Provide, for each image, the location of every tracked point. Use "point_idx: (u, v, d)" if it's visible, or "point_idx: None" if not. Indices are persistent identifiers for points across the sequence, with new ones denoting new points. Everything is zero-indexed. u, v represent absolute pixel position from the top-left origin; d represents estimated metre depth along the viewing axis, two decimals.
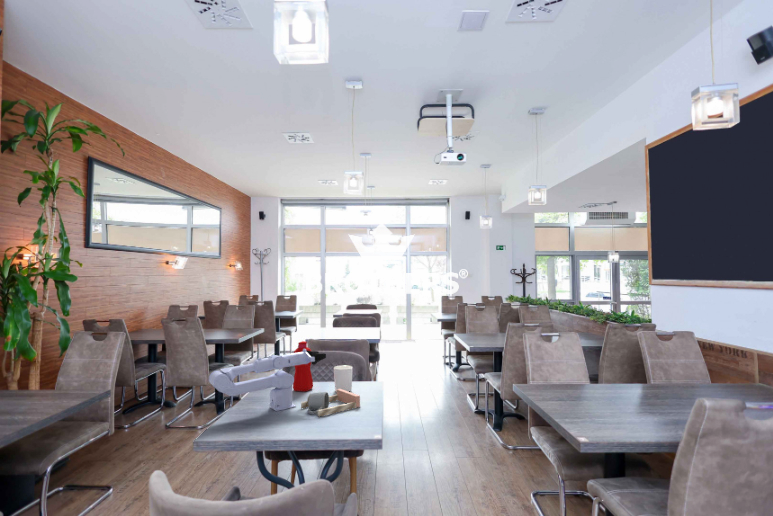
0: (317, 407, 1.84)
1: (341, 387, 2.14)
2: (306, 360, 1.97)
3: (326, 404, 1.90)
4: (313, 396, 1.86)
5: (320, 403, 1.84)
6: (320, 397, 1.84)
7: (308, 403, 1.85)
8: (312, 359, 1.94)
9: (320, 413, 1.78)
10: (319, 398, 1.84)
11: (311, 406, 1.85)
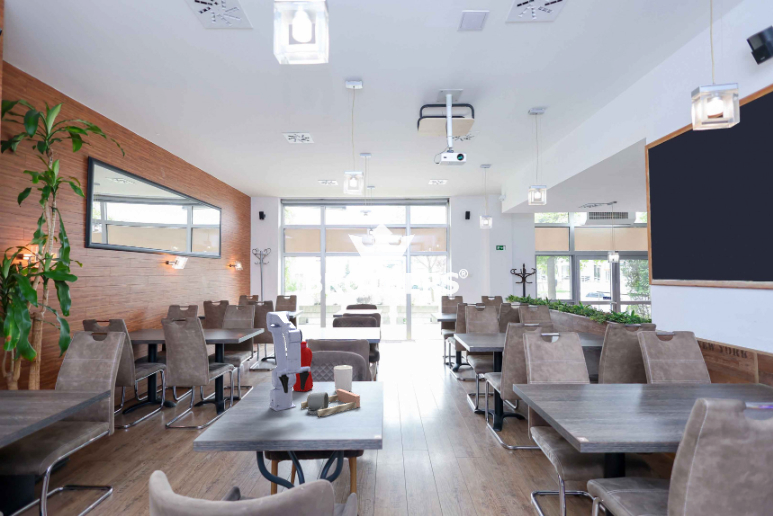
0: (317, 407, 1.84)
1: (341, 387, 2.14)
2: (287, 369, 1.79)
3: (326, 404, 1.89)
4: (313, 396, 1.85)
5: (320, 403, 1.83)
6: (320, 397, 1.84)
7: (307, 403, 1.85)
8: (278, 373, 1.75)
9: (320, 413, 1.78)
10: (319, 398, 1.84)
11: (311, 406, 1.84)
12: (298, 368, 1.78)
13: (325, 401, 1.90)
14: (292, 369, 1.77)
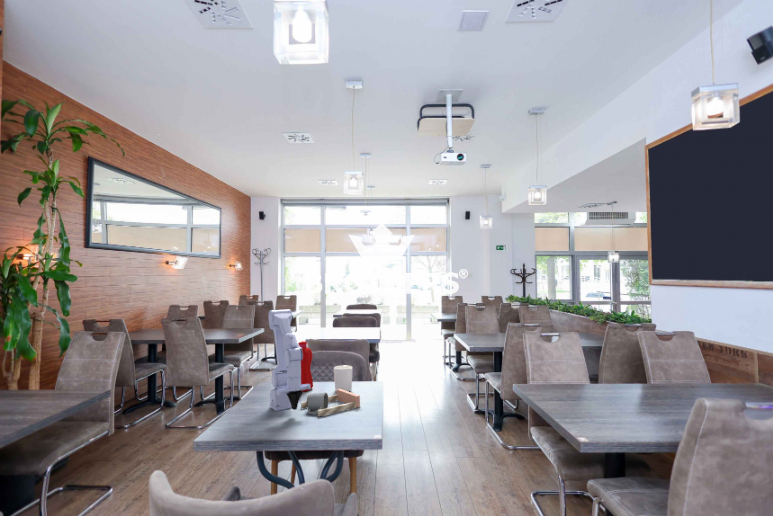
0: (316, 408, 1.83)
1: (341, 387, 2.14)
2: (287, 387, 1.79)
3: (325, 405, 1.89)
4: (312, 397, 1.85)
5: (319, 404, 1.83)
6: (319, 398, 1.84)
7: (307, 404, 1.84)
8: (278, 392, 1.75)
9: (320, 413, 1.78)
10: (318, 398, 1.84)
11: (310, 407, 1.84)
12: (298, 386, 1.78)
13: (325, 401, 1.90)
14: (292, 387, 1.77)
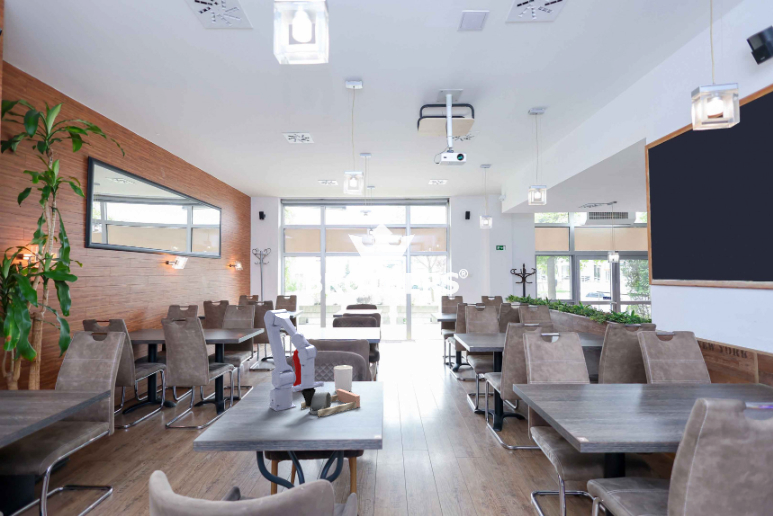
0: (319, 407, 1.84)
1: (341, 387, 2.14)
2: (301, 384, 1.83)
3: (328, 404, 1.89)
4: (315, 396, 1.85)
5: (321, 403, 1.83)
6: (322, 397, 1.84)
7: None
8: (292, 389, 1.79)
9: (320, 413, 1.78)
10: (320, 398, 1.84)
11: (313, 406, 1.84)
12: (312, 384, 1.82)
13: (327, 401, 1.90)
14: (306, 385, 1.81)
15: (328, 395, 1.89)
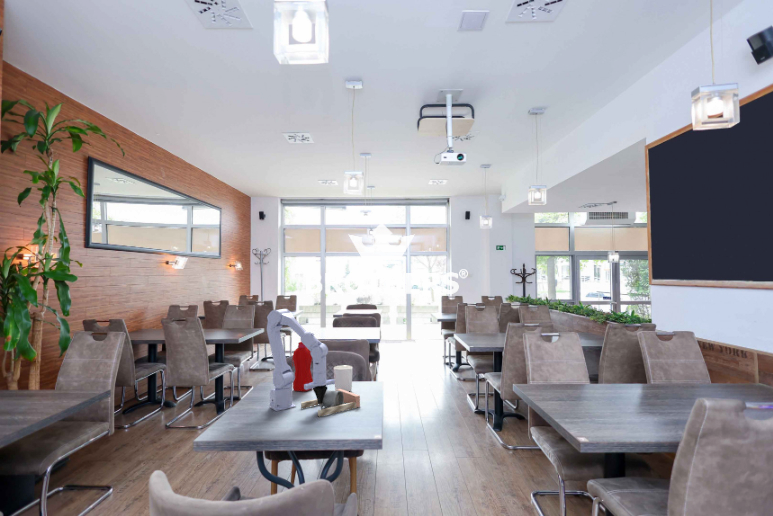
0: (329, 405, 1.86)
1: (341, 387, 2.14)
2: (313, 382, 1.86)
3: (340, 403, 1.91)
4: (326, 394, 1.88)
5: (332, 401, 1.85)
6: (332, 396, 1.86)
7: None
8: (305, 386, 1.83)
9: (320, 413, 1.78)
10: (331, 396, 1.86)
11: (324, 403, 1.88)
12: (324, 381, 1.86)
13: (340, 399, 1.92)
14: (318, 382, 1.85)
15: (341, 394, 1.91)
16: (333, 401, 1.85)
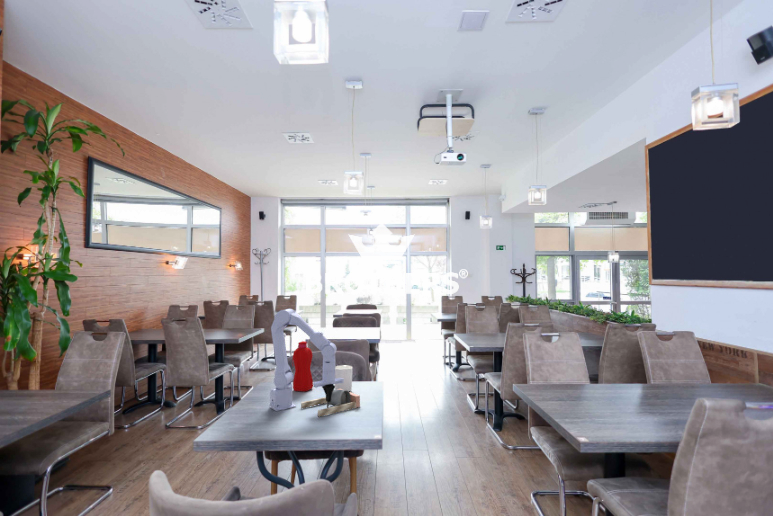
0: (335, 404, 1.88)
1: (341, 387, 2.14)
2: (322, 380, 1.90)
3: (347, 402, 1.92)
4: (333, 393, 1.91)
5: (337, 400, 1.87)
6: (338, 394, 1.88)
7: None
8: (314, 384, 1.86)
9: (320, 413, 1.78)
10: (337, 395, 1.88)
11: (330, 402, 1.90)
12: (333, 380, 1.89)
13: (347, 398, 1.93)
14: (327, 381, 1.88)
15: (347, 393, 1.93)
16: (338, 400, 1.87)
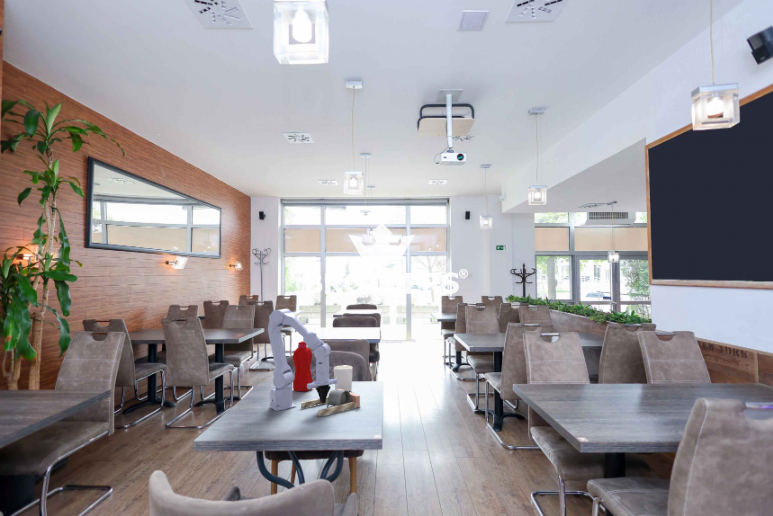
0: (335, 404, 1.88)
1: (341, 387, 2.14)
2: (316, 381, 1.87)
3: (347, 402, 1.92)
4: (333, 393, 1.91)
5: (337, 400, 1.87)
6: (338, 395, 1.88)
7: (328, 399, 1.91)
8: (308, 386, 1.84)
9: (320, 413, 1.78)
10: (337, 395, 1.88)
11: (330, 402, 1.90)
12: (327, 381, 1.87)
13: (347, 399, 1.93)
14: (321, 382, 1.86)
15: (348, 393, 1.92)
16: (338, 400, 1.87)
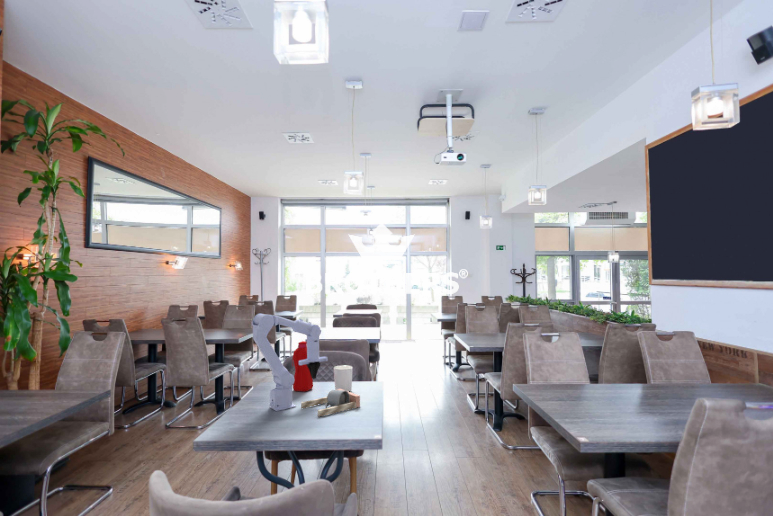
0: (334, 404, 1.88)
1: (341, 387, 2.14)
2: (307, 358, 2.02)
3: (346, 402, 1.91)
4: (332, 393, 1.90)
5: (336, 401, 1.87)
6: (337, 395, 1.87)
7: (327, 399, 1.90)
8: (299, 362, 1.98)
9: (320, 413, 1.78)
10: (336, 395, 1.88)
11: (329, 403, 1.89)
12: (317, 358, 2.01)
13: (346, 399, 1.92)
14: (312, 359, 2.00)
15: (347, 393, 1.92)
16: (337, 401, 1.86)
